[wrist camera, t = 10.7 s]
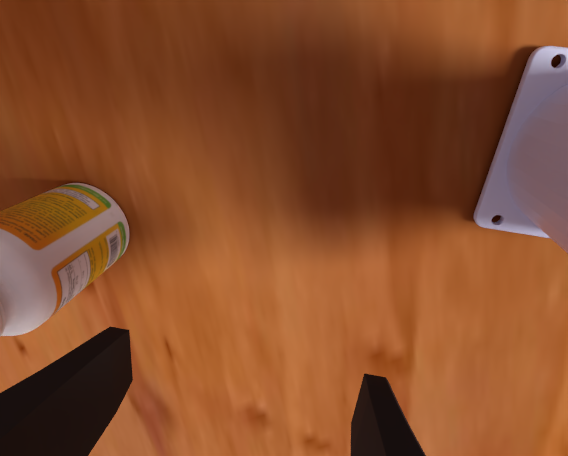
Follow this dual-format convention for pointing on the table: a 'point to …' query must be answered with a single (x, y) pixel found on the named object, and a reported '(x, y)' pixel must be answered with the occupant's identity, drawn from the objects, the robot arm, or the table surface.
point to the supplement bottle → (55, 251)
